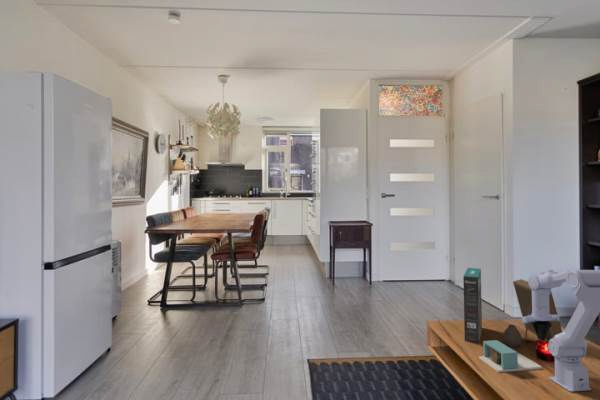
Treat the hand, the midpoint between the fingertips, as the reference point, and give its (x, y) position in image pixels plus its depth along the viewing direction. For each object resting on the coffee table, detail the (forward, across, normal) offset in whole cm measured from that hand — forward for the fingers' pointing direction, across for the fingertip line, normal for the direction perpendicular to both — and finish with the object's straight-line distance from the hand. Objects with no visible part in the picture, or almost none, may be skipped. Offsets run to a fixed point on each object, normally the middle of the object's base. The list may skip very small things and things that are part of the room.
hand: (541, 339), depth 141 cm
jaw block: (+9, +16, -3) cm, 19 cm away
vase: (+10, -2, -19) cm, 22 cm away
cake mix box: (+10, +7, -34) cm, 36 cm away
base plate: (+10, +12, -3) cm, 15 cm away
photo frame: (+10, -17, -25) cm, 32 cm away
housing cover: (+10, +16, -3) cm, 19 cm away
